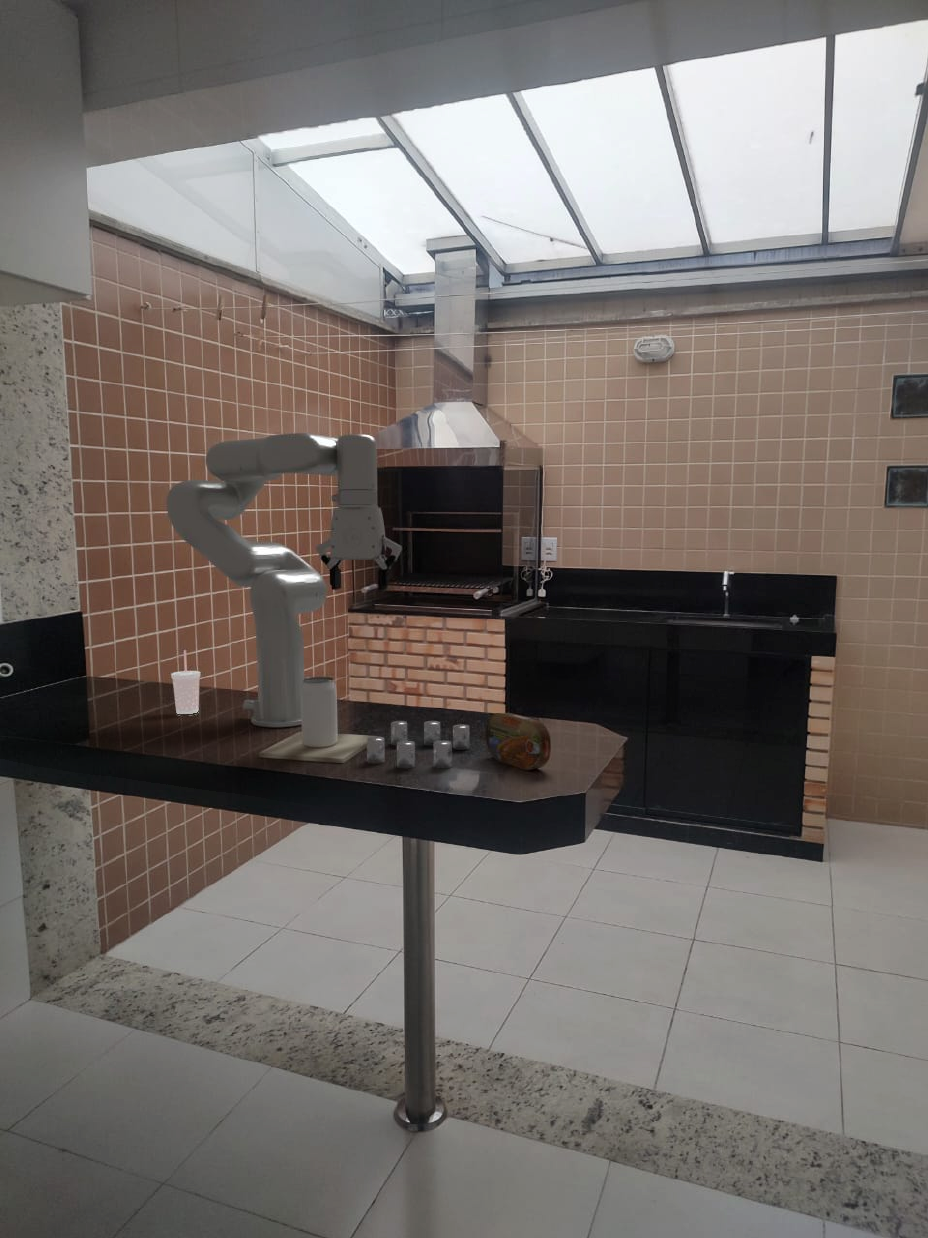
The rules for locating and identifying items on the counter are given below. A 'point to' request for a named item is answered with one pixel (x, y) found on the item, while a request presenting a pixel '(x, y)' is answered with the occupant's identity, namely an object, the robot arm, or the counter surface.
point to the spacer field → (408, 747)
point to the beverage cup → (186, 690)
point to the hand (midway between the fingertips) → (359, 589)
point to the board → (317, 749)
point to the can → (319, 712)
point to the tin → (518, 741)
